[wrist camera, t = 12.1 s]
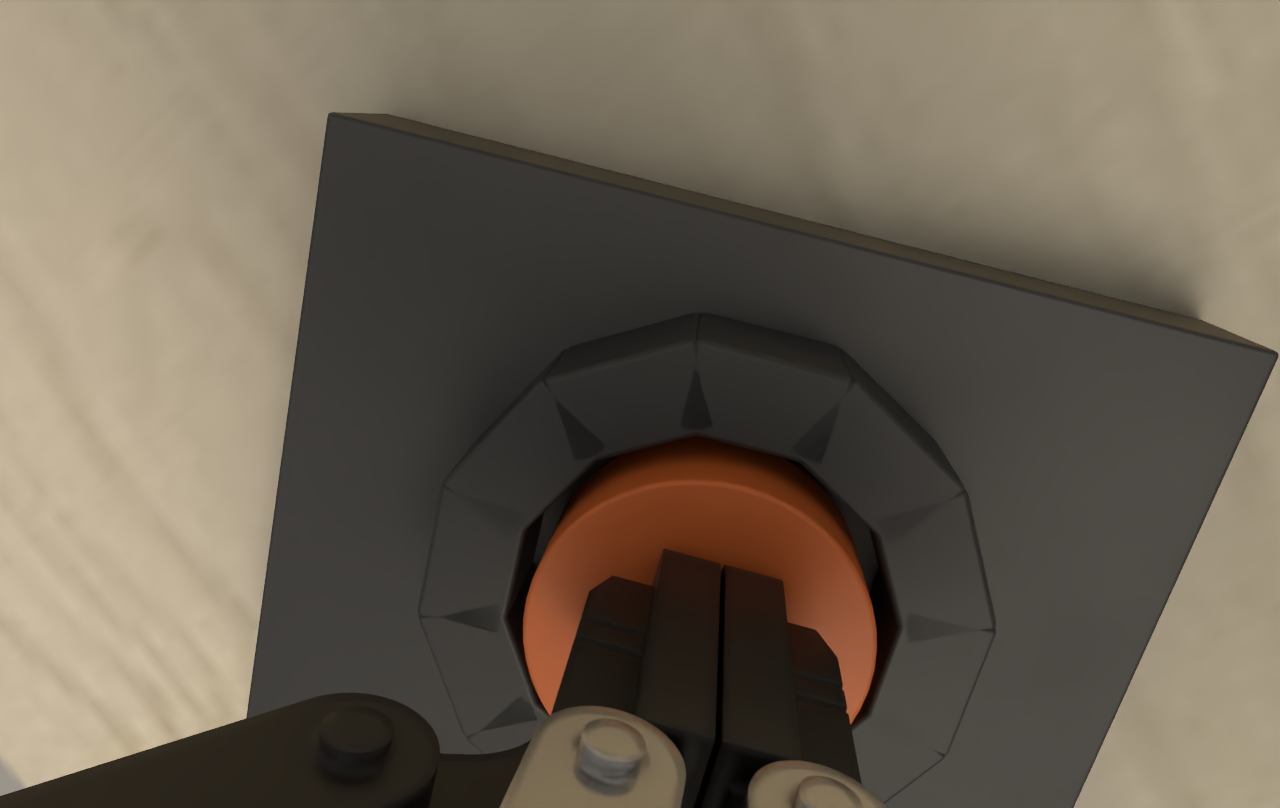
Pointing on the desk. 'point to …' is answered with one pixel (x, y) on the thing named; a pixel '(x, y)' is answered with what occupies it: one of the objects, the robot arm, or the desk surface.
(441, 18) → the desk surface
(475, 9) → the desk surface
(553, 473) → the button housing
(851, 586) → the button
